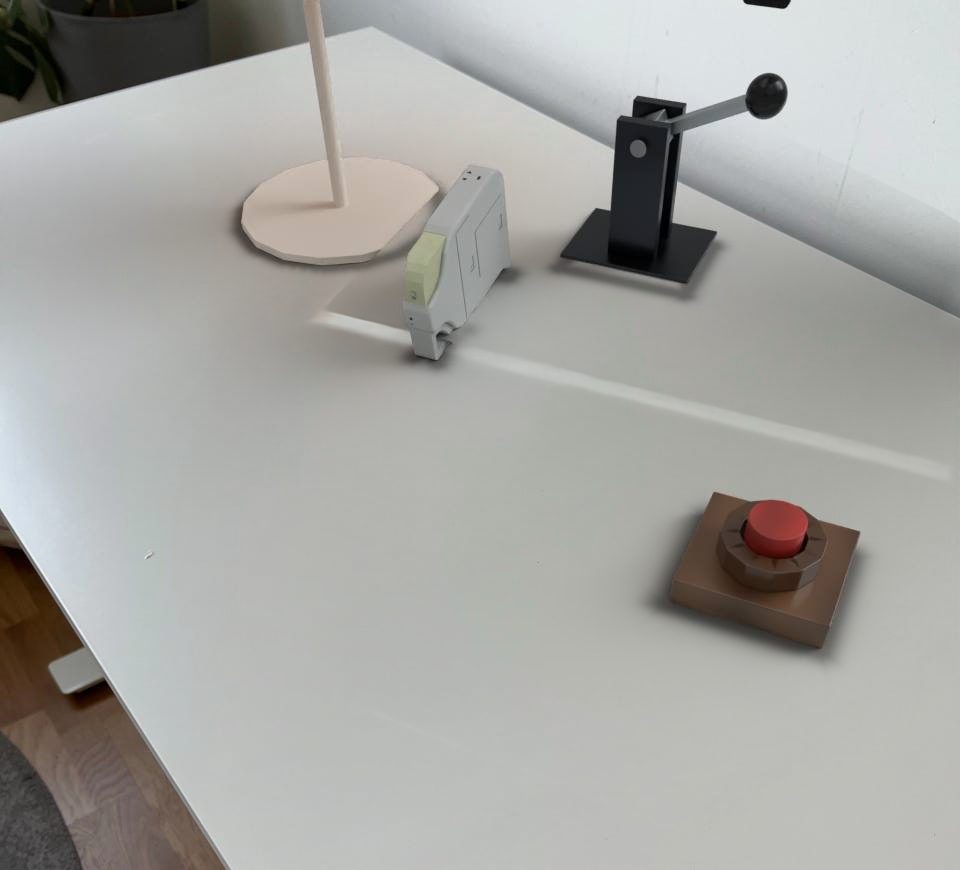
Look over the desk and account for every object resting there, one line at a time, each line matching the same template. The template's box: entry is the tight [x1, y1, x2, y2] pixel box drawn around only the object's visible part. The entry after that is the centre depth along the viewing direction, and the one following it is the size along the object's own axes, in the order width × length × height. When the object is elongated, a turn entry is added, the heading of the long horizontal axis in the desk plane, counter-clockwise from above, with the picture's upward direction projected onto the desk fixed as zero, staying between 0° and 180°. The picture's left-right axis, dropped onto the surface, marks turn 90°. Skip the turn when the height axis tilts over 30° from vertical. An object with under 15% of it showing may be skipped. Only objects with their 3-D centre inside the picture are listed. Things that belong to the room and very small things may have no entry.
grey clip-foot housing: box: [402, 163, 512, 361], centre depth 82 cm, size 11×3×15 cm
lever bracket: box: [559, 95, 718, 285], centre depth 86 cm, size 12×9×13 cm
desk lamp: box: [240, 0, 440, 266], centre depth 86 cm, size 30×30×31 cm
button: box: [744, 499, 808, 559], centre depth 62 cm, size 4×4×2 cm
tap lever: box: [639, 72, 789, 141], centre depth 80 cm, size 13×3×3 cm, turn 64°
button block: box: [668, 491, 862, 649], centre depth 64 cm, size 10×9×4 cm
